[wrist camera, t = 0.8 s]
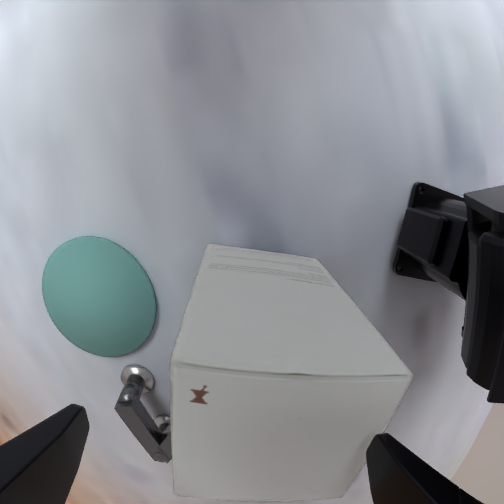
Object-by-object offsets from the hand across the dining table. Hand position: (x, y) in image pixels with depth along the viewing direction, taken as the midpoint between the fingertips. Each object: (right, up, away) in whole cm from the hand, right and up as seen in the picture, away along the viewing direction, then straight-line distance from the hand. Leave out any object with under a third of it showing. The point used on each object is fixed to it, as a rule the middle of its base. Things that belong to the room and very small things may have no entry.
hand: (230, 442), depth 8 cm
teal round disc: (-10, +2, +12) cm, 16 cm away
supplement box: (+1, +2, +13) cm, 13 cm away
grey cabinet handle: (-6, -6, +15) cm, 17 cm away
